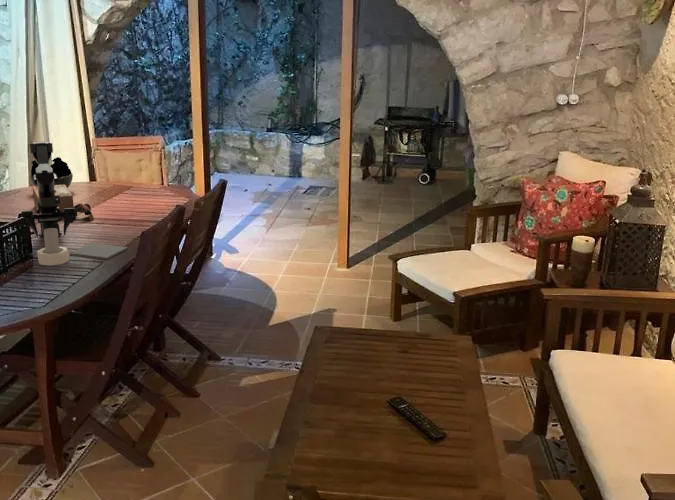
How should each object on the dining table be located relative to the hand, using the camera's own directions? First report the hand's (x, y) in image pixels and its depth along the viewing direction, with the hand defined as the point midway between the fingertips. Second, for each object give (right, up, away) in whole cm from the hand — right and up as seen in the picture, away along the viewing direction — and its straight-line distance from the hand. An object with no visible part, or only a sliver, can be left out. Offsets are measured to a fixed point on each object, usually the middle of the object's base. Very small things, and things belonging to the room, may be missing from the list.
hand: (51, 235), depth 248 cm
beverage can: (0, -9, +1) cm, 10 cm away
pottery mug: (-10, +9, +58) cm, 60 cm away
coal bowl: (-42, +24, +102) cm, 113 cm away
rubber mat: (+13, -6, +13) cm, 19 cm away
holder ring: (0, -9, +1) cm, 9 cm away
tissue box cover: (-28, +12, +69) cm, 75 cm away
